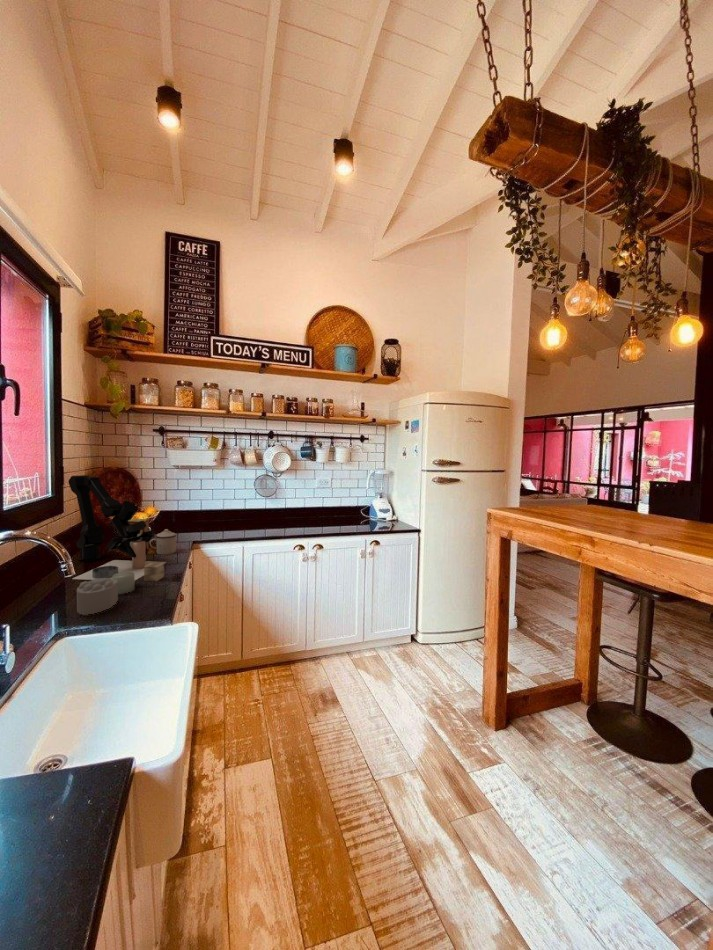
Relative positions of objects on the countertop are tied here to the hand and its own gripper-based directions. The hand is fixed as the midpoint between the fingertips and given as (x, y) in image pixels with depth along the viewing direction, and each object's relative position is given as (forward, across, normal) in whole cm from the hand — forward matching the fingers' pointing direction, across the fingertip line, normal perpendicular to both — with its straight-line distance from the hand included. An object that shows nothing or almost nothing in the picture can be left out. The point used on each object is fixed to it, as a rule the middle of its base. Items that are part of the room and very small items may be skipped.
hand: (141, 555), depth 169 cm
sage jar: (+15, -18, -6) cm, 24 cm away
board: (+2, -5, +8) cm, 10 cm away
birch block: (+16, -7, -7) cm, 19 cm away
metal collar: (+1, -13, +6) cm, 15 cm away
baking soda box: (-16, +20, +26) cm, 37 cm away
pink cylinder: (+3, 0, +5) cm, 5 cm away
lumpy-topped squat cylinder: (+19, -32, -9) cm, 39 cm away
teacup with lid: (-7, +25, +17) cm, 31 cm away
